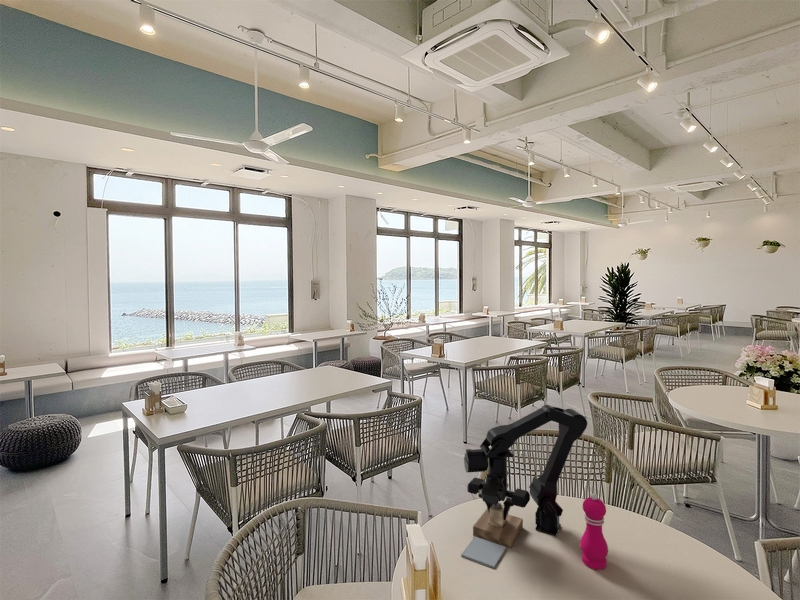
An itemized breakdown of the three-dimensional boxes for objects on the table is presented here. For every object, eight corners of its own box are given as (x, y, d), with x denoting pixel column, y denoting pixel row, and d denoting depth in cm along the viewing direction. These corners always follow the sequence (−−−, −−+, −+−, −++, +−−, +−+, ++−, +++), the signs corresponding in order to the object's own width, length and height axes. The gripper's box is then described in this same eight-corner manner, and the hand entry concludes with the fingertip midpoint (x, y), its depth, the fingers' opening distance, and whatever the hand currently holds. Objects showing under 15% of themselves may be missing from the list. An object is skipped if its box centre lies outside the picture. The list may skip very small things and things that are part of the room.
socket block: (522, 527, 137) (522, 518, 137) (510, 548, 127) (510, 538, 127) (487, 516, 144) (487, 508, 144) (473, 535, 134) (473, 526, 134)
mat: (506, 548, 127) (506, 546, 127) (494, 568, 119) (494, 566, 119) (474, 538, 132) (474, 536, 132) (461, 556, 124) (461, 554, 124)
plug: (506, 530, 136) (506, 502, 136) (502, 536, 133) (502, 508, 132) (494, 526, 138) (494, 499, 138) (489, 532, 135) (489, 505, 134)
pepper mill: (602, 554, 124) (602, 487, 122) (612, 571, 116) (613, 500, 115) (576, 553, 124) (576, 486, 123) (584, 570, 117) (585, 499, 116)
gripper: (459, 473, 133) (460, 521, 134) (519, 488, 123) (519, 540, 124) (474, 459, 142) (474, 505, 143) (530, 472, 132) (530, 521, 133)
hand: (498, 517), depth 135 cm, fingers closed on plug, 4 cm apart
